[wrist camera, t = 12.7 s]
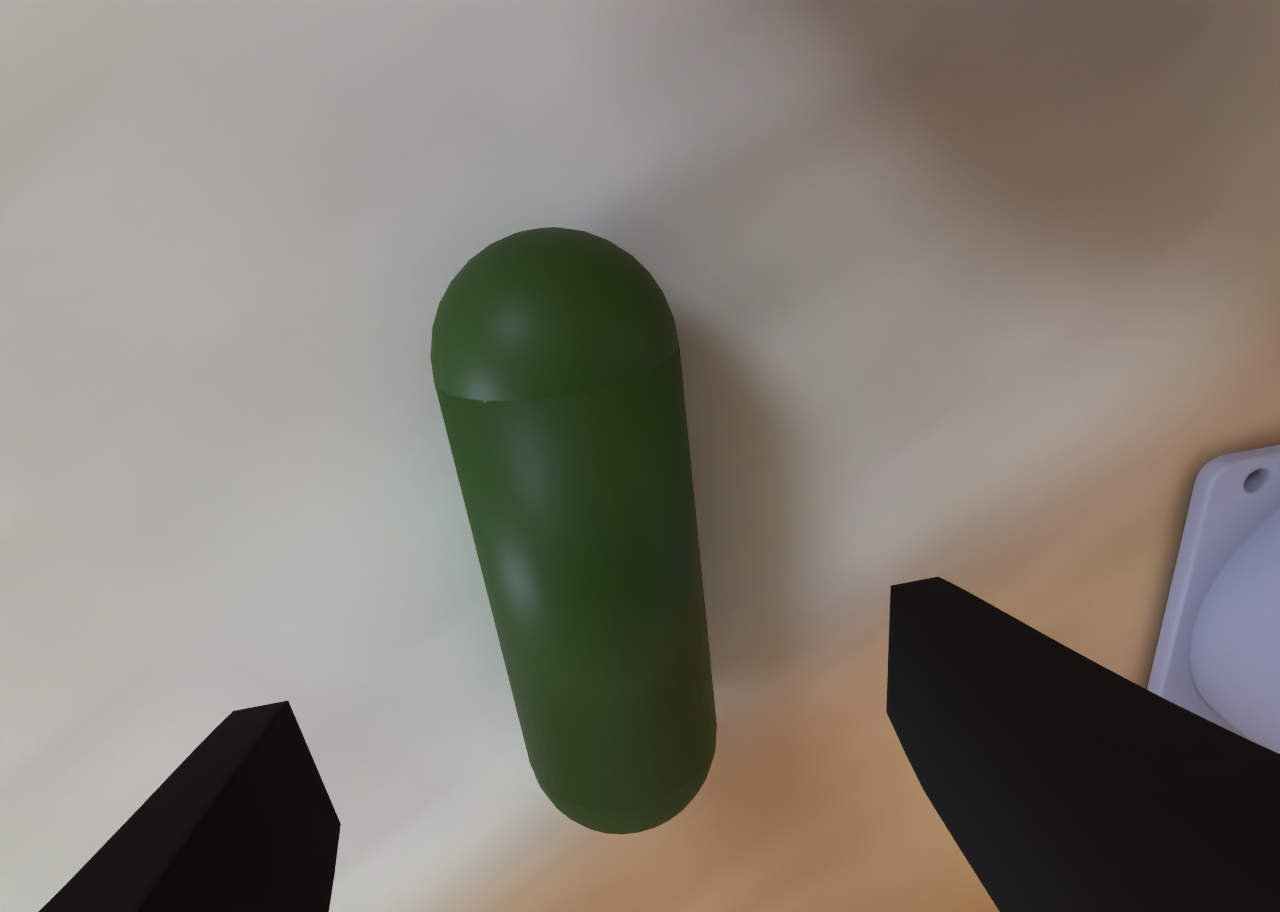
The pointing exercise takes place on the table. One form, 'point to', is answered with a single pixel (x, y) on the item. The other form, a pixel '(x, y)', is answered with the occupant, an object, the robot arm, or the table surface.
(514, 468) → the cucumber
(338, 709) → the table surface
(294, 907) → the robot arm
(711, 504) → the table surface
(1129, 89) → the table surface
